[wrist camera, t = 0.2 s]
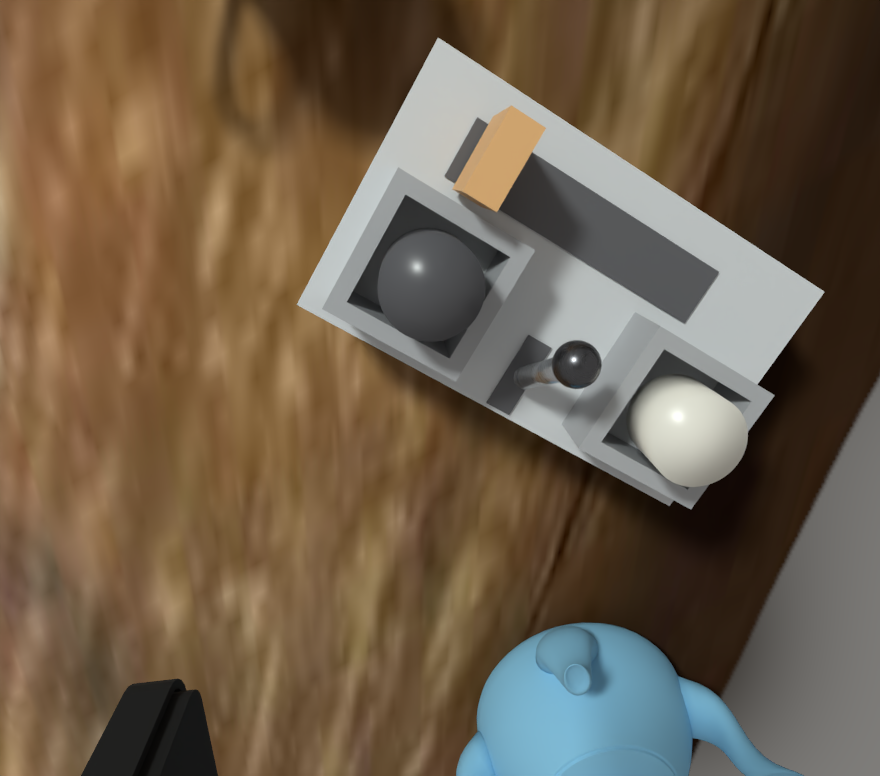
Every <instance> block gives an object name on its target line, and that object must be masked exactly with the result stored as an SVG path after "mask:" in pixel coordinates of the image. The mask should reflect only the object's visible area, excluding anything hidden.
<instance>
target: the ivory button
mask: <svg viewBox="0 0 880 776" xmlns="http://www.w3.org/2000/svg"><path fill="white" fill-rule="evenodd" d="M626 424H627V430H628V433H629V436H630V438H631V440H632V441H633V443H634V444H635V445H636V446H637V447H638V448H639V450H640V451H641V452H642V453H643V454H644V455H645V456H646V457H647V458H648V459H649V461H650V462H651V463H652V464H653V465H654V466H655V467H656V468H657V469H658V470H659V472H660V473H661V474H662V475H663V476H664V477H665V478H667V479H668V480H670V481H671V482H673V483H675V484H678V485H681V486H686V487H700V486H705V485H709V484H712V483H714V482H716V481H719V480H720V479H722V478H723V477H725V476H726V475H728V474H729V473H730V472H731V471H732V470H733V469H734V468H735V467H736V466H737V464H738V463H739V461H740V460H741V458H742V456H743V454H744V452H745V449H746V446H747V441H748V429H747V424H746V421H745V418H744V417H743V415H742V413H741V412H740V410H739V409H738V408H737V407H736V406H735V405H734V404H732V403H731V402H729V401H728V400H726V399H725V398H723V397H722V396H720V395H719V394H717V393H716V392H714V391H713V390H711V389H710V388H708V387H707V386H705V385H704V384H702V383H701V382H699V381H698V380H696V379H695V378H693V377H690V376H687V375H683V374H667V375H663V376H660V377H657V378H655V379H653V380H651V381H649V382H648V383H646V384H645V385H644V386H643V387H641V388H640V389H639V391H638V392H637V393H636V394H635V396H634V397H633V399H632V400H631V403H630V405H629V408H628V411H627V417H626Z"/></svg>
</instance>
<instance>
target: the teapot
mask: <svg viewBox="0 0 880 776" xmlns="http://www.w3.org/2000/svg"><path fill="white" fill-rule="evenodd" d="M477 730H478V732H477V733H476V734H475V735H474V737H473V738H472V739H471V740H470V742H469V743H468V744H467V745H466V747H465V749H464V751H463V753H462V754H461V756H460V759H459V763H458V767H457V771H456V776H688V775H689V770H690V765H691V756H692V738H695V739H700V740H703V741H707V742H709V743H711V744H714V745H715V746H717V747H718V748H720V749H721V750H722V751H723V752H724V753H725V754H726V755H727V756H728V757H729V759H730V760H731V761H732V763H733V764H734V765H735V766H736V767H737V768H738V769H739V770H740V771H741V772H742V773H743V774H744V775H745V776H803V775H802V774H799V773H797V772H794V771H792V770H789V769H786V768H784V767H782V766H780V765H777V764H775V763H773V762H772V761H770V760H769V759H767V758H766V757H765V756H763V755H762V754H761V753H760V752H759V751H758V750H757V749H756V748H755V746H754V745H753V744H752V742H751V741H750V740H749V739H748V737H747V736H746V735H745V732H744V731H743V729H742V728H741V726H740V725H739V723H738V722H737V720H736V718H735V717H734V715H733V714H732V712H731V711H730V709H729V708H728V707H727V705H726V704H725V703H724V702H723V701H722V700H721V698H720V697H719V696H717V695H716V694H715V693H714V692H713V691H711V690H710V689H708V688H706V687H705V686H703V685H701V684H699V683H696V682H693V681H691V680H688V679H685V678H682V677H679V676H677V673H676V672H675V670H674V668H673V666H672V664H671V663H670V661H669V660H668V658H667V657H666V656H665V655H664V654H663V653H662V651H661V650H660V649H659V648H658V647H656V646H655V645H654V644H652V643H651V642H650V641H648V640H647V639H645V638H644V637H642V636H640V635H639V634H637V633H635V632H633V631H630V630H628V629H625V628H622V627H618V626H614V625H610V624H602V623H575V624H567V625H562V626H558V627H554V628H551V629H548V630H545V631H543V632H540V633H538V634H536V635H534V636H532V637H530V638H529V639H527V640H525V641H524V642H522V643H520V644H519V645H518V646H517V647H515V648H514V649H513V650H511V651H510V652H509V653H508V654H507V655H506V656H505V657H504V658H503V659H502V660H501V661H500V662H499V663H498V665H497V666H496V667H495V668H494V670H493V671H492V673H491V674H490V676H489V678H488V679H487V681H486V684H485V686H484V688H483V691H482V694H481V697H480V701H479V705H478V710H477Z"/></svg>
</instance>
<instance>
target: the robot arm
mask: <svg viewBox="0 0 880 776" xmlns="http://www.w3.org/2000/svg"><path fill="white" fill-rule="evenodd" d="M81 776H218V774H217V770H216V765H215V760H214V755H213V750H212V746H211V741H210V736H209V731H208V727H207V722H206V717H205V712H204V708H203V703H202V698H201V695H200V693H199V691H198V690H188V691H186V688H185V685H184V683H183V682H182V680H180V679H172V680H163V681H154V682H146V683H137V684H132V685H130V686H129V687H128V688H127V689H126V691H125V692H124V694H123V696H122V698H121V700H120V702H119V704H118V705H117V707H116V709H115V711H114V713H113V715H112V717H111V719H110V721H109V723H108V725H107V727H106V729H105V731H104V732H103V734H102V736H101V738H100V740H99V742H98V744H97V746H96V748H95V750H94V752H93V754H92V756H91V758H90V760H89V761H88V763H87V765H86V767H85V769H84V771H83V773H82V775H81Z"/></svg>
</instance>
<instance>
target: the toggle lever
mask: <svg viewBox="0 0 880 776" xmlns="http://www.w3.org/2000/svg"><path fill="white" fill-rule="evenodd" d="M601 368H602V361H601V357H600V354H599V352H598V351H597V349H596V348H595V347H594V346H593V345H591V344H590V343H588V342H585V341H582V340H572V341H568V342H566V343H564V344H562V345H561V346H560V347H559V348H558V349H557V350H556V352H555V354H554V356H553V358H549V359H546V360H543V361H539V362H536V363H533V364H530V365H526V366H523V367H520V368H519V369H517V370H516V372H515V374H514V382H515V384H516V385H517V386H518V387H519V388H521V389H530V388H535V387H540V386H544V385H549V384H553V383H558V382H560V383H561V384H562V385H564V386H565V387H568V388H571V389H582V388H585V387H588V386H590V385H591V384H592V383H594V382H595V381H596V379H597V378H598V377H599V375H600V372H601Z"/></svg>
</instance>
